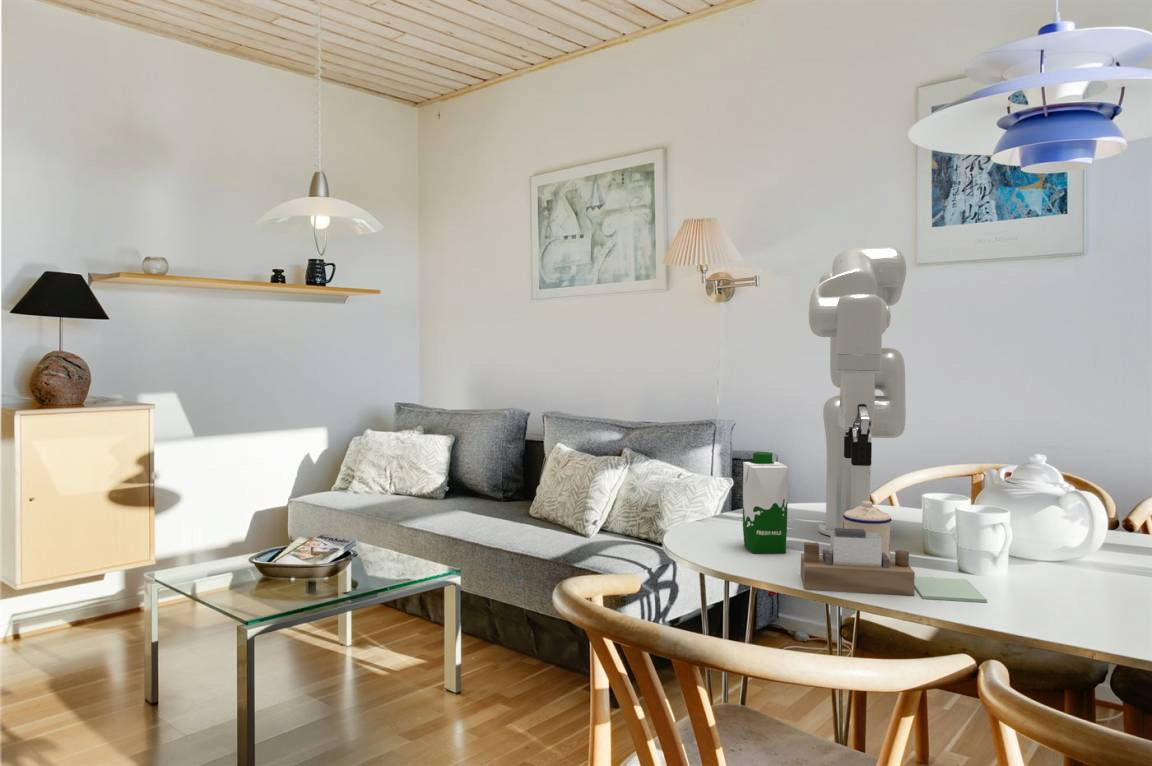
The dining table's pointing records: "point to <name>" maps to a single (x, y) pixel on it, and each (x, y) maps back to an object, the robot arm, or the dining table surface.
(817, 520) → the dining table surface
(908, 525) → the dining table surface
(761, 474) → the milk carton
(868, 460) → the robot arm
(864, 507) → the teacup with lid
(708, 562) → the dining table surface
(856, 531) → the lever cap
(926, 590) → the mat
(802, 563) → the plane body
